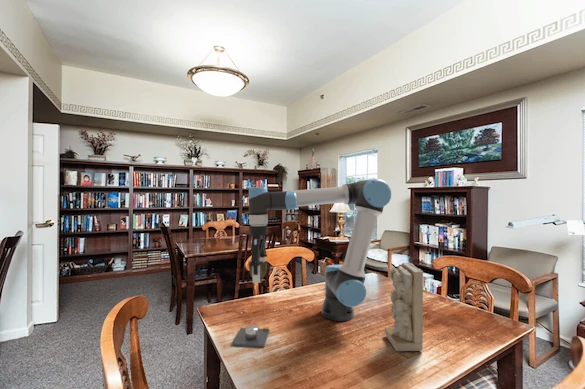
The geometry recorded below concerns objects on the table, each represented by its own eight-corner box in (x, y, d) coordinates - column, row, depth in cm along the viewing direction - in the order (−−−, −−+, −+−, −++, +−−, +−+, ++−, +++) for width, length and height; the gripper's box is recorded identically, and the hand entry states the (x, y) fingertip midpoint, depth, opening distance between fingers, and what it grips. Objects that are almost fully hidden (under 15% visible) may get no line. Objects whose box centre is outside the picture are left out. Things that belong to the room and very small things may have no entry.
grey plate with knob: (269, 331, 114) (269, 321, 114) (263, 347, 102) (264, 336, 102) (241, 330, 115) (241, 320, 115) (232, 345, 103) (232, 334, 103)
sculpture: (384, 335, 112) (384, 260, 112) (410, 335, 112) (410, 261, 112) (395, 353, 99) (395, 269, 99) (423, 353, 99) (424, 269, 99)
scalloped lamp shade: (264, 284, 104) (264, 262, 106) (245, 283, 106) (246, 262, 107) (269, 280, 112) (269, 260, 113) (251, 280, 113) (252, 260, 114)
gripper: (255, 221, 125) (256, 268, 125) (241, 229, 100) (243, 287, 101) (271, 221, 125) (272, 268, 125) (262, 228, 100) (263, 287, 100)
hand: (259, 277), depth 113 cm, fingers open, 13 cm apart
